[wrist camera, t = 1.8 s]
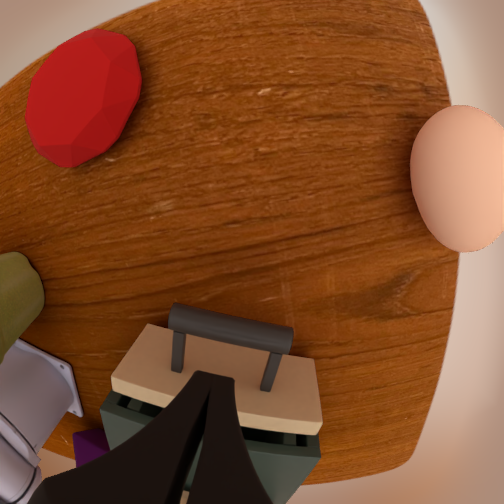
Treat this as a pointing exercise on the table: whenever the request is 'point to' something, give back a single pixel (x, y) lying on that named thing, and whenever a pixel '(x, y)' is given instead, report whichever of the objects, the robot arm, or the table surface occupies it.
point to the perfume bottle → (89, 445)
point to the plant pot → (17, 298)
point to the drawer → (225, 371)
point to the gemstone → (83, 97)
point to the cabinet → (262, 454)
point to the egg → (460, 177)
